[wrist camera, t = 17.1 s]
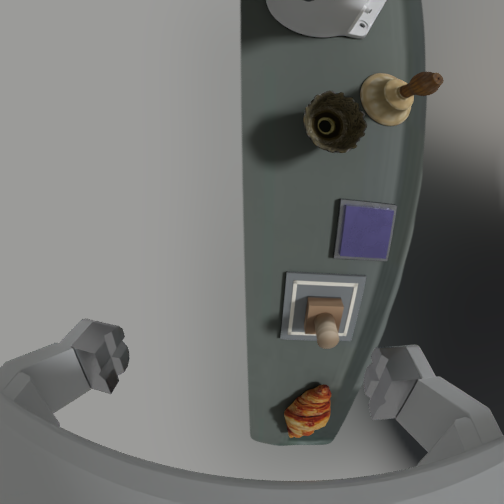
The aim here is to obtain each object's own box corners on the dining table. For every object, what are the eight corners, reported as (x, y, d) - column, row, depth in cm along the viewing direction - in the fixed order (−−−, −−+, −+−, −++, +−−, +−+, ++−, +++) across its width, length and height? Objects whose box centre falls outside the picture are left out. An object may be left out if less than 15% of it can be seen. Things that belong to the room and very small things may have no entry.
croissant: (302, 421, 63) (316, 444, 57) (268, 431, 59) (282, 456, 53) (333, 369, 55) (354, 395, 49) (295, 379, 51) (315, 409, 44)
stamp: (307, 295, 45) (312, 324, 38) (340, 297, 45) (350, 325, 37) (303, 323, 47) (307, 354, 40) (335, 324, 47) (342, 354, 39)
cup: (328, 162, 38) (340, 166, 30) (288, 129, 37) (290, 124, 29) (360, 125, 35) (378, 121, 28) (320, 91, 34) (330, 78, 27)
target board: (286, 271, 44) (286, 273, 44) (365, 275, 43) (366, 277, 43) (280, 336, 49) (280, 339, 48) (350, 338, 48) (351, 341, 48)
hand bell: (360, 122, 35) (407, 111, 20) (358, 69, 32) (400, 33, 17) (410, 129, 34) (473, 127, 20) (408, 78, 32) (466, 55, 17)
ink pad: (339, 198, 40) (342, 200, 38) (394, 204, 39) (398, 206, 37) (333, 256, 43) (334, 260, 41) (385, 259, 42) (388, 263, 41)
